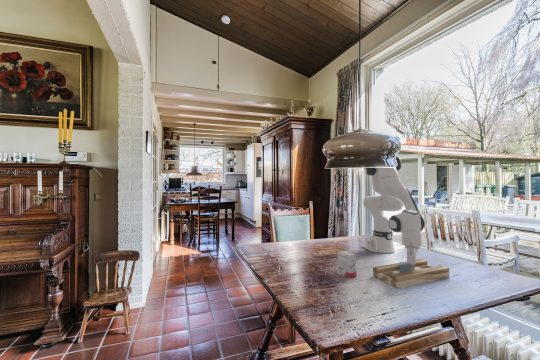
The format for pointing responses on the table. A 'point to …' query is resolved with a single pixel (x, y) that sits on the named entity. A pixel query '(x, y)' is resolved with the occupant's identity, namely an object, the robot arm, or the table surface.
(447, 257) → the table surface
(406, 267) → the slate block
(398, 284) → the trap lane
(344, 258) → the ink box
